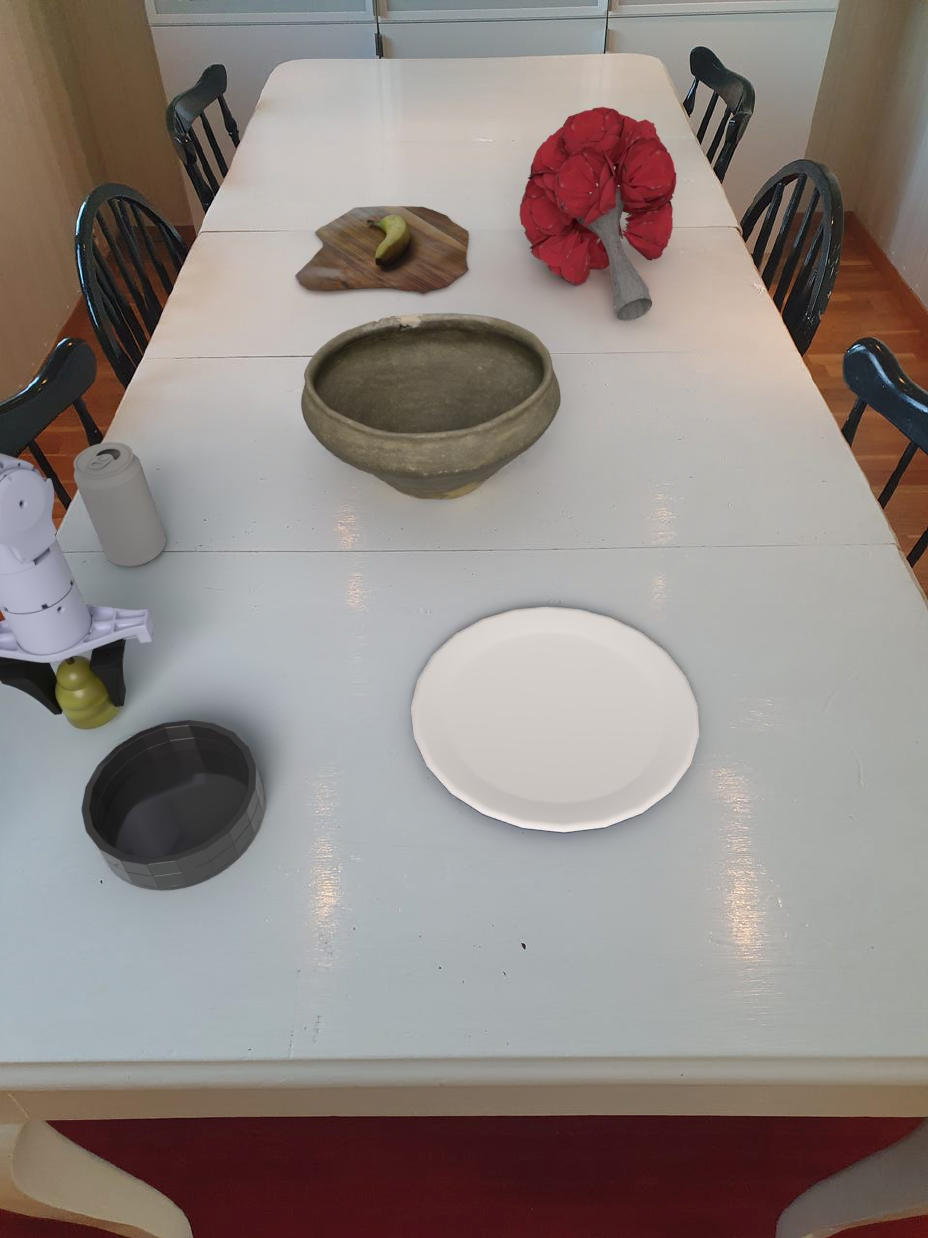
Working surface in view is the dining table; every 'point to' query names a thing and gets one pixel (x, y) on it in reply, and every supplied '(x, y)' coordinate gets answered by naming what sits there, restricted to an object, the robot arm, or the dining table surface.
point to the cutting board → (387, 250)
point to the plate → (555, 719)
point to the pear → (82, 694)
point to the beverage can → (119, 503)
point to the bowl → (431, 399)
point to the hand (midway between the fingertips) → (90, 701)
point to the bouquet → (600, 201)
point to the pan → (174, 804)
